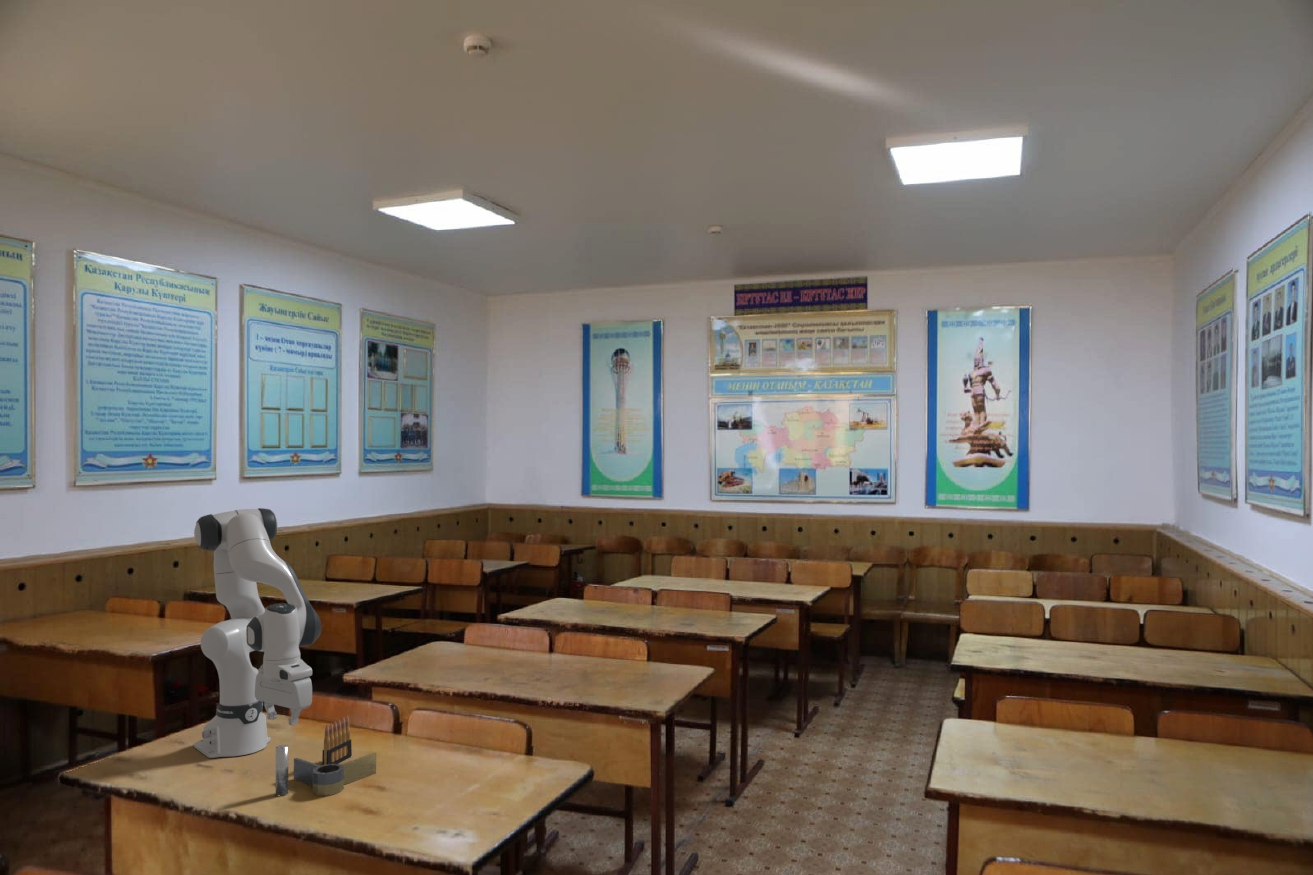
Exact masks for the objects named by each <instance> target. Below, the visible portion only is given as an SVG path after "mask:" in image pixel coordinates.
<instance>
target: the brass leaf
mask: <svg viewBox="0 0 1313 875" xmlns="http://www.w3.org/2000/svg"><path fill="white" fill-rule="evenodd" d="M339 764H340V765H343V767H344V779H343V780H341V781H340V782H337V783H335V784H330V785H317V784H314V783H313V786H312V794H313V795H315V796H318V797H327V796H333V795H336V794H339V793H341V792H342V791H344V789H345V787H344V786H345V785H348V784H351V783H353V782H354V783H355V782H356V781H359V780H362V779H365V778H368V777H370V776H372V775H375V774H377V752H372V753H369V754H366V755H363V756H360V757H358V758H354V759H352V760H349V761H344V762H343V763H342V762H341V763H339ZM340 765H338V766H340Z"/></svg>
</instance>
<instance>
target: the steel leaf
mask: <svg viewBox="0 0 1313 875" xmlns="http://www.w3.org/2000/svg"><path fill="white" fill-rule="evenodd" d="M340 764H341V763H339V764H327V765H322V764H321V765H320V764H317V763H314V762H311V761H307V760H305V759H302V758H300V757H294V758H293V780H294V781H297V782H300V781H301V783H304V784H307V785H309V786H312V787H313V783H314V784H317V785H330V784H335V783H337V782H340V781H341V780H343V779H344V767H343V765H340ZM338 765H340V766H338Z"/></svg>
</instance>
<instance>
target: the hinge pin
mask: <svg viewBox="0 0 1313 875" xmlns="http://www.w3.org/2000/svg"><path fill="white" fill-rule="evenodd" d="M286 794H287V795H288V794H289V745H288V744H281V745H276V746H275V796H276V795H284V796H287V795H286Z"/></svg>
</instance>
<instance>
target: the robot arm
mask: <svg viewBox="0 0 1313 875" xmlns="http://www.w3.org/2000/svg"><path fill="white" fill-rule="evenodd" d="M278 528H279V526H278V519H277V517H276V515H275V513H274V511H272V510H271V509H269V508H262V507H259V508H256V509H254V508H250V509H247V508H245V509H235V510H230V511H225V512H220V513H214V514H212V513H210V514H207V515H203V516H200V517H199V518H198V519H197V521H196V522H195V526H194V530H193V534H194V540H195V542H196V543H197V546H198V547H199V548H200V549H201V550H203V551H209V552H210V551H211V552H213V573H214V574H213V575H214V585H215V587H214V588H215V598H216V599H217V602H219V603H220V604H221V605H223V606H225V607H226V609H227V611H228V613H229V615H230V619H227V620H224V621H223V620H222V621H219V622H218V623H216V624H214V625H211V626H210V627H209V628H207V629H205V631H203V633H202V634H201V636H200V637H201V638H200V648H201V651H202V653H203V655H204V656H205V657H207V659H209V660H210V661H212V663H213V665H214V666H215V668H216V670H217V674H218V679H219V702H217V703H215V705H216V706H215V707H216V712H215V716H214V717H213V718H212V719H211V720H209V721H208V722H207V723H206V724H205V725H204V727H203V730H202V731H201V736H202V737H201V738H202V739H200V740H198V741H196V742H195V743H194V744H193V748H194V749H196V750H197V751H198V752H200V753H202V754H203V755H204V756H205V757H207V758H208V759H215V758H220V757H221V758H224V757H225V758H228V757H239V756H245V755H249V754H254V753H257V752H259V751H261V750H263V749H265V748H266V747H267V746H268V743H269V742H270V741H272V739H271V736H268V729H267V727H268V726H267V720H270V721H273V720H276V719H277V717H278V716H277V715H278V714H277V711H276V709H275V706H279V707H283V708H288V709H290V713H291V715H290V717H288V725H289V726H292V727H293V726H297V725H298V724H299V717H300V715H301V713H302V710H305V709H308V708H310V707H311V705H312V702H313V684H312V679H311V676H313V669H312V667H311V666H310V665H308V664H307V663H306V662H305V661H304V660H303V659H302V658H301V650H300V647H302V648H304V647H311V645H313V644H314V643H315V642H316V641H317V640H318V639H319V637H320V636H321V633H322V622H321V619H320V616H319V615H318V613H317V612H316V610H315V609H314V608H313V606H312V604H311V603H310V601H309V599H308V596H307V594H306V593H305V590H304V588H303V586H302V585H301V583H300V581H299V579H298V576H297V575H296V572H295V570H294V569H293V567H292V566H291V565H290V563H289V562H288V561H286V560H283V559H282V558H281V557H279V555H278V554H276V552H275V551H274V549H273V547H272V545H271V543H272V541H273V540H274V539H275V538H276V536H277V533H278ZM257 583H260V584H264V585H268V586H272V587H273V588H275V589H277V590H279V591H281V593H282V595H283V596H284V598H285V601H286V602H287V603H284V602H280V603H272V604H270V605H267V606H266V607H264V605H263V603H262V600H261V598H260V595H259V591H258V585H257ZM254 651H255V652H263V653H264V654H263V658H262V664H261V665H260V667H259V668H258V669H257V667H255V666H253V665H252V662H251V658H250V653H252V652H254ZM263 706H264V708H265V711H266V714H267V715H265V714H264V713H263V711H264V710H263ZM266 716H267V717H266Z"/></svg>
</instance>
